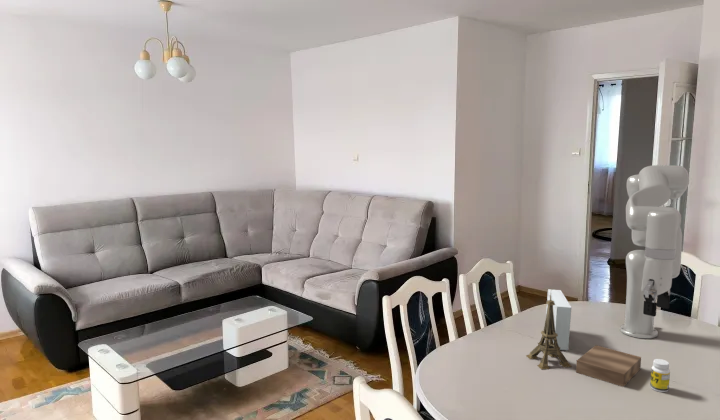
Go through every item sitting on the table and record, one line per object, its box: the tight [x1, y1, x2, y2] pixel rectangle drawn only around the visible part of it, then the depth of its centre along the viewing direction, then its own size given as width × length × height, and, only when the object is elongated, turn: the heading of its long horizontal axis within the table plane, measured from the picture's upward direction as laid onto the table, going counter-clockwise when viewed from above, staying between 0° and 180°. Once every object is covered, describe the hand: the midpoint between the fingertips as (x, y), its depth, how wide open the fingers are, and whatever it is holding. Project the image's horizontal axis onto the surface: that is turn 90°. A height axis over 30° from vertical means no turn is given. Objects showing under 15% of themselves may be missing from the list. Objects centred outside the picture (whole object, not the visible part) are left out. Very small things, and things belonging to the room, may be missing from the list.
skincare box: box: [545, 288, 572, 351], centre depth 188 cm, size 21×6×16 cm, turn 168°
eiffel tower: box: [525, 295, 573, 370], centre depth 169 cm, size 11×11×25 cm
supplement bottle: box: [649, 358, 671, 393], centre depth 151 cm, size 5×5×8 cm
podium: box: [575, 344, 642, 388], centre depth 163 cm, size 16×14×4 cm
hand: (656, 311), depth 149 cm, fingers open, 9 cm apart
